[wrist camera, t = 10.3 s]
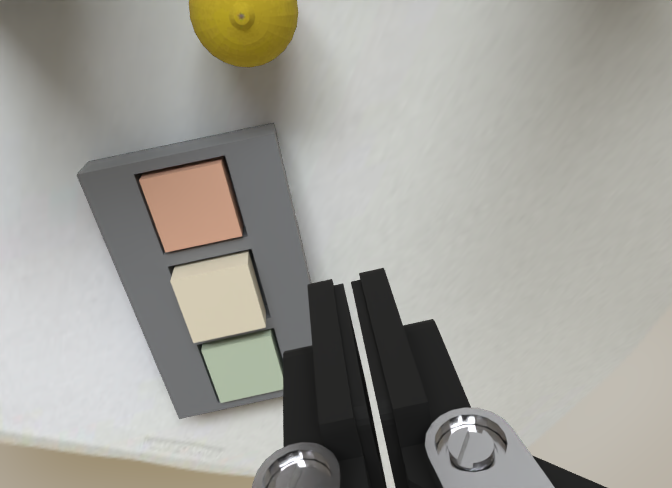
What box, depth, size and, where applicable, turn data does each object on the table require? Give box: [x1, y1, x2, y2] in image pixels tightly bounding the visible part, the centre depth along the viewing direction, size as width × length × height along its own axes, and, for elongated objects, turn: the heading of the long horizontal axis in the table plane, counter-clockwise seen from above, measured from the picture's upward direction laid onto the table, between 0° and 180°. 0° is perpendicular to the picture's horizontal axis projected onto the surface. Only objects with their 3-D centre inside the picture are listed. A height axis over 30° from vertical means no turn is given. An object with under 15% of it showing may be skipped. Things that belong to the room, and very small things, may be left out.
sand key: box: [170, 250, 266, 343], centre depth 37 cm, size 5×5×2 cm
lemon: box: [189, 0, 298, 67], centre depth 29 cm, size 6×6×8 cm
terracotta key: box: [139, 156, 243, 253], centre depth 35 cm, size 5×5×2 cm
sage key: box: [201, 328, 283, 403], centre depth 41 cm, size 5×5×2 cm
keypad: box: [77, 123, 312, 419], centre depth 39 cm, size 12×20×2 cm, turn 10°
